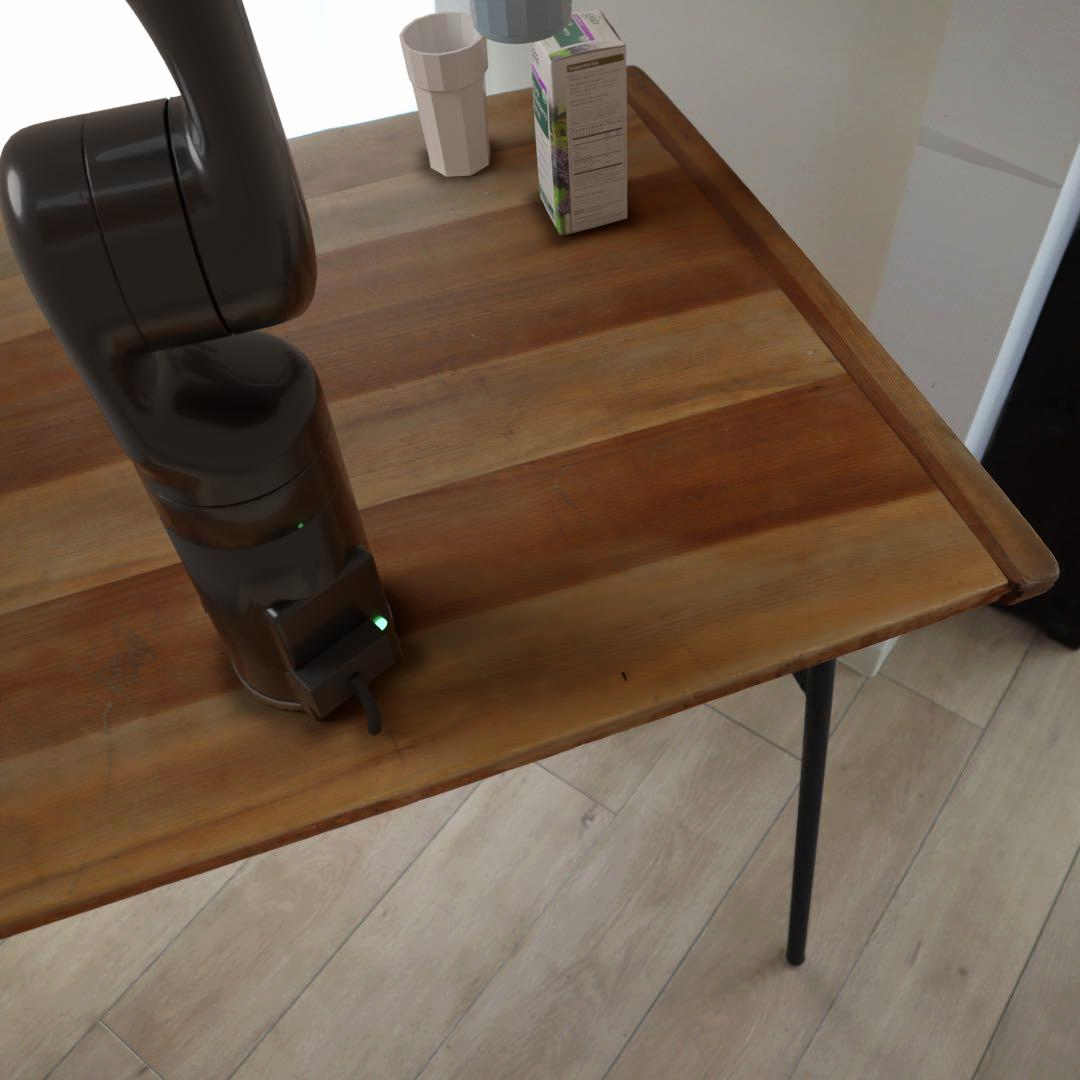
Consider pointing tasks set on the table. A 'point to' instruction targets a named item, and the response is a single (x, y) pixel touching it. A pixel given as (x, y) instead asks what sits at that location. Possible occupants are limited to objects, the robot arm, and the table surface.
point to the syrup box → (581, 123)
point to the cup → (449, 89)
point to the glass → (520, 19)
